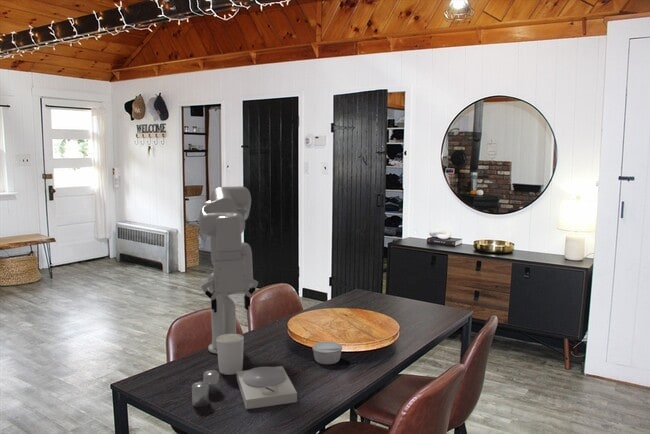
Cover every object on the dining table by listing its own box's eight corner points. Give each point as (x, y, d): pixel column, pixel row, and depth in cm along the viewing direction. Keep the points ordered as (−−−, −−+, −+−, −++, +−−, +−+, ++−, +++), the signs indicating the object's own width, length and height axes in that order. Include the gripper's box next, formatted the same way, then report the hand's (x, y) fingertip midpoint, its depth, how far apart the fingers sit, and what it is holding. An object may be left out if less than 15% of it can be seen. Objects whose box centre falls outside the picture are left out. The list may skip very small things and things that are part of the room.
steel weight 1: (192, 401, 165) (191, 382, 165) (208, 398, 167) (207, 380, 166) (192, 408, 161) (192, 389, 160) (209, 406, 162) (208, 387, 161)
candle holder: (218, 377, 183) (217, 344, 182) (216, 366, 192) (215, 334, 191) (246, 374, 186) (245, 341, 184) (243, 363, 195) (242, 332, 194)
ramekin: (325, 368, 191) (325, 354, 190) (306, 359, 199) (306, 345, 199) (348, 360, 198) (348, 347, 197) (329, 352, 206) (329, 339, 206)
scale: (236, 379, 181) (236, 368, 180) (282, 374, 185) (282, 363, 185) (246, 409, 160) (245, 396, 159) (297, 402, 164) (297, 389, 164)
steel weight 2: (203, 388, 174) (202, 371, 174) (218, 386, 176) (218, 369, 175) (204, 395, 169) (203, 377, 169) (220, 393, 171) (219, 375, 170)
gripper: (255, 252, 167) (256, 304, 169) (199, 255, 162) (201, 309, 164) (259, 255, 160) (260, 310, 162) (201, 259, 155) (203, 316, 157)
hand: (230, 310), depth 163 cm, fingers open, 9 cm apart
